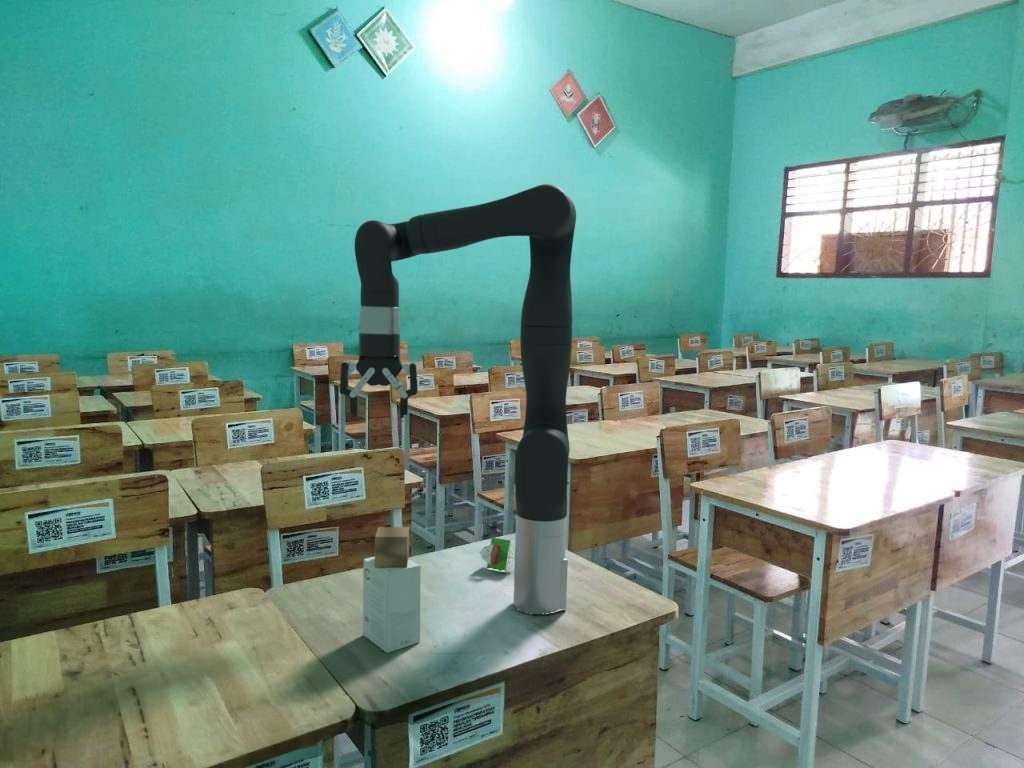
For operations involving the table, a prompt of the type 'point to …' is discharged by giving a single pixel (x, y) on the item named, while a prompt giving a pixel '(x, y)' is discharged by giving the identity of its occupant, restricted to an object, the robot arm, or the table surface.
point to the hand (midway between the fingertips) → (379, 417)
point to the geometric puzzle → (496, 553)
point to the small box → (391, 605)
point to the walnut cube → (392, 547)
